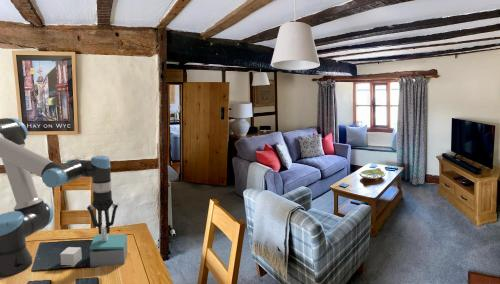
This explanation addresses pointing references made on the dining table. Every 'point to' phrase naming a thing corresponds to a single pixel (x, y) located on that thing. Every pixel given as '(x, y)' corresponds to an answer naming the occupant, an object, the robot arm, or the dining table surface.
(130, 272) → the dining table surface
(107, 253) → the box
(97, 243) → the lid
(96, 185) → the robot arm
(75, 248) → the light grey cube
